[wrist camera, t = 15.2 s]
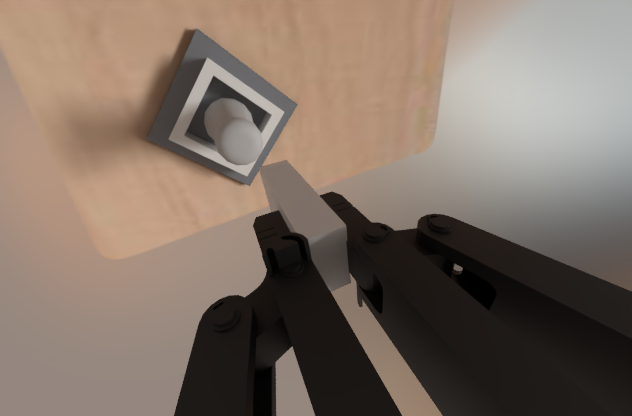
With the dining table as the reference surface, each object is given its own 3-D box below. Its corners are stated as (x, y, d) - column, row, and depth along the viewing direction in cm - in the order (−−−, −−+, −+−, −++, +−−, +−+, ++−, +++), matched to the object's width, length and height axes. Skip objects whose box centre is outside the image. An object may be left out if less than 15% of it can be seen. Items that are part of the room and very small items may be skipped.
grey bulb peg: (206, 142, 32) (209, 177, 22) (200, 94, 29) (200, 109, 19) (251, 141, 34) (273, 173, 24) (249, 97, 31) (273, 112, 21)
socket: (197, 29, 27) (196, 24, 24) (295, 103, 35) (304, 107, 32) (147, 137, 30) (141, 145, 27) (248, 183, 38) (253, 194, 35)
